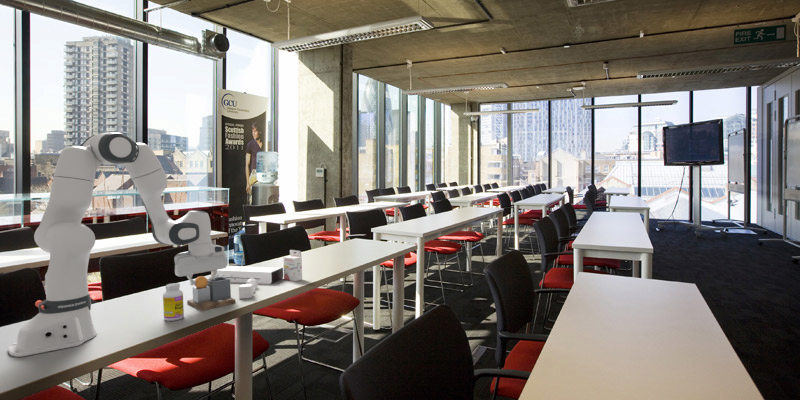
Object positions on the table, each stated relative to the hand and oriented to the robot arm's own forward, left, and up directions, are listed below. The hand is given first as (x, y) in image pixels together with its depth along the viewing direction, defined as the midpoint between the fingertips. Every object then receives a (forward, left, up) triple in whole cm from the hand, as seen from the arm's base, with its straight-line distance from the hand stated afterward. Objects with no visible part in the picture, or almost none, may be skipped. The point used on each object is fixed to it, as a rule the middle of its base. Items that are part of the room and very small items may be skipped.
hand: (202, 282), depth 184 cm
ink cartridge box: (+49, +9, -9) cm, 51 cm away
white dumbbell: (+22, +3, -10) cm, 24 cm away
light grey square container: (-1, 0, -8) cm, 8 cm away
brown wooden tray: (+3, -1, -9) cm, 10 cm away
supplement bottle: (-15, -10, -9) cm, 20 cm away
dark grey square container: (+6, 0, -8) cm, 10 cm away
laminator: (+34, +27, -10) cm, 45 cm away
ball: (-1, 0, 0) cm, 1 cm away
